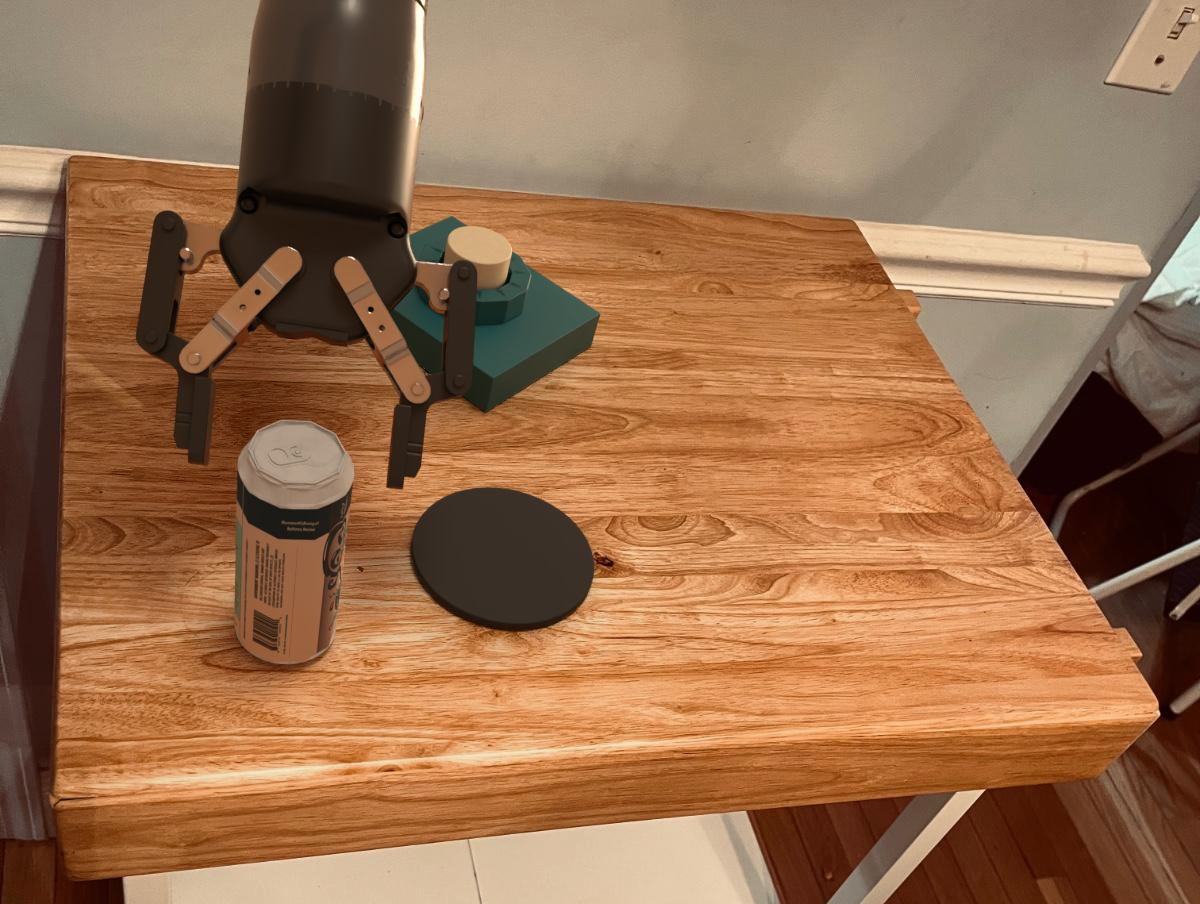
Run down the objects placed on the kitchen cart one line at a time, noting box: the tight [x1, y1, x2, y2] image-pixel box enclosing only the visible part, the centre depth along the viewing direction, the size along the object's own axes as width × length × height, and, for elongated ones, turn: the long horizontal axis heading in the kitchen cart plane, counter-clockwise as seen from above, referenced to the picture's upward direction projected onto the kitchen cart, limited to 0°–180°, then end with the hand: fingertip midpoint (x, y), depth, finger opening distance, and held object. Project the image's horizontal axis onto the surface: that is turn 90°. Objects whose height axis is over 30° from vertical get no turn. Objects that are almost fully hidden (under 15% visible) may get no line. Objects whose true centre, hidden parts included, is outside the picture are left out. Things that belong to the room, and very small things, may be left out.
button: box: [443, 225, 513, 290], centre depth 74 cm, size 4×4×2 cm
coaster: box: [410, 486, 596, 631], centre depth 64 cm, size 10×10×1 cm
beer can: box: [233, 419, 355, 665], centre depth 54 cm, size 5×5×12 cm
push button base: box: [389, 215, 601, 413], centre depth 76 cm, size 13×11×4 cm
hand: (298, 476), depth 53 cm, fingers open, 8 cm apart
